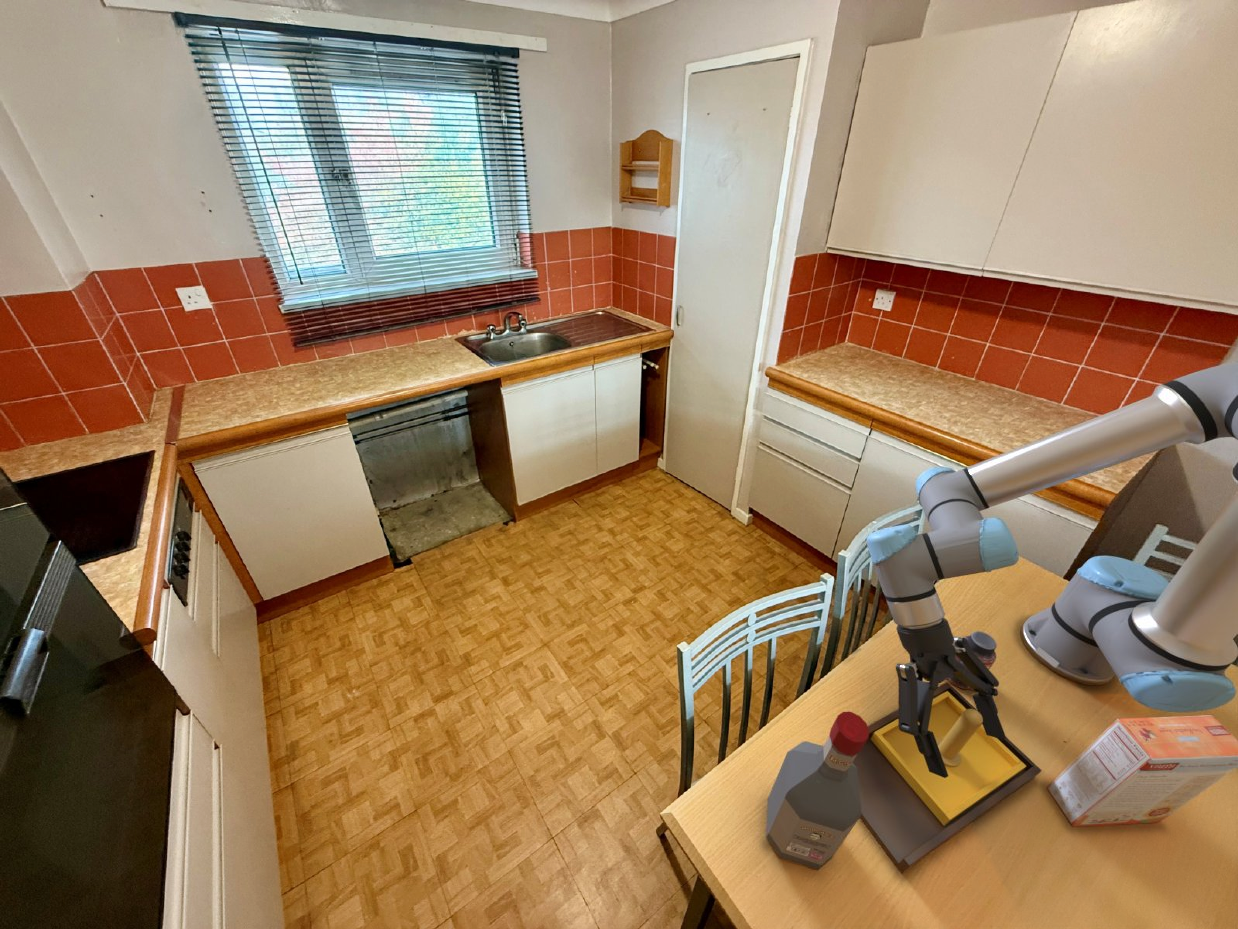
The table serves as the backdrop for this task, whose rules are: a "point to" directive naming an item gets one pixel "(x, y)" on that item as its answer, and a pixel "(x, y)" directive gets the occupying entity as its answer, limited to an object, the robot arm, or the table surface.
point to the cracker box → (1144, 770)
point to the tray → (960, 780)
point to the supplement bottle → (978, 653)
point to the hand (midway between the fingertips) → (968, 755)
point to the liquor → (817, 795)
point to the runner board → (917, 799)
